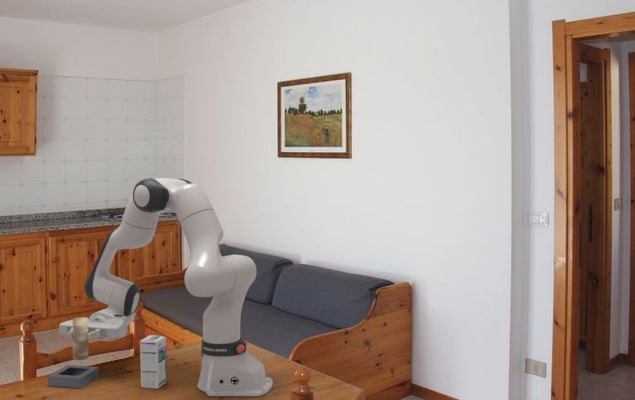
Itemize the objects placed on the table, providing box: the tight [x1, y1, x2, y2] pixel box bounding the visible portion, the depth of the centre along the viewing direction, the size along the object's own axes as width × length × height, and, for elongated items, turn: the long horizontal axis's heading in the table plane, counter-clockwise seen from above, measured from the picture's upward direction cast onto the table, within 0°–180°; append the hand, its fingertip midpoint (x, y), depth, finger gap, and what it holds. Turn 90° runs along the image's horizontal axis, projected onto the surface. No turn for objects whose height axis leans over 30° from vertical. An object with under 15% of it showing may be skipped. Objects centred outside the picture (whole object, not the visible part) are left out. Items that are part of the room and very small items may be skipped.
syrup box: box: [139, 334, 168, 390], centre depth 189 cm, size 6×6×14 cm
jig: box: [47, 364, 100, 390], centre depth 191 cm, size 11×11×3 cm
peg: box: [72, 316, 89, 361], centre depth 191 cm, size 4×4×12 cm
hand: (78, 335), depth 190 cm, fingers closed on peg, 4 cm apart
